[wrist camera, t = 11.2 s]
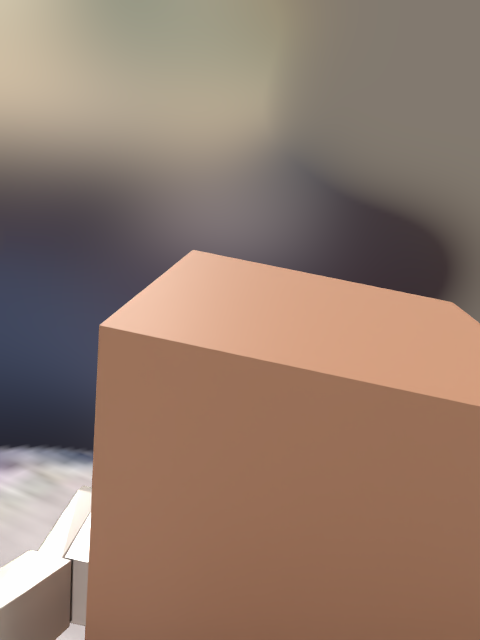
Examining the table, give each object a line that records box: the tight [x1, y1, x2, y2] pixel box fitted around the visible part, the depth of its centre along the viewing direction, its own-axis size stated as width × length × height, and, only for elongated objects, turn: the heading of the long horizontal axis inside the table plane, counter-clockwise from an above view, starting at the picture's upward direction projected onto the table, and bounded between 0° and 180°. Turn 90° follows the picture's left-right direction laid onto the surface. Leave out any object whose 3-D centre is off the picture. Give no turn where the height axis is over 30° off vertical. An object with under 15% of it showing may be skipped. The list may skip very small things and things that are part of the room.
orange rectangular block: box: [85, 250, 480, 640], centre depth 8 cm, size 5×4×14 cm
